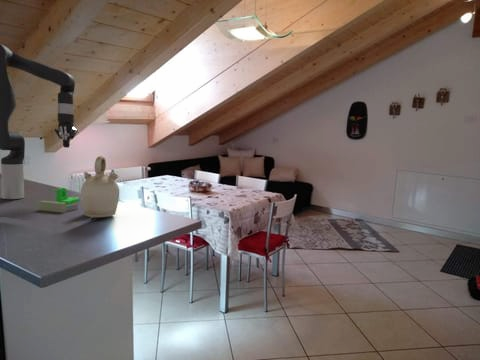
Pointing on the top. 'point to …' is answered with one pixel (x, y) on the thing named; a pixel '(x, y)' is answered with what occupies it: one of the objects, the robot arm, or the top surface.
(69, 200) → the mechanical part
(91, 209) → the jug
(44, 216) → the top surface
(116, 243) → the top surface
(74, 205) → the low bench
